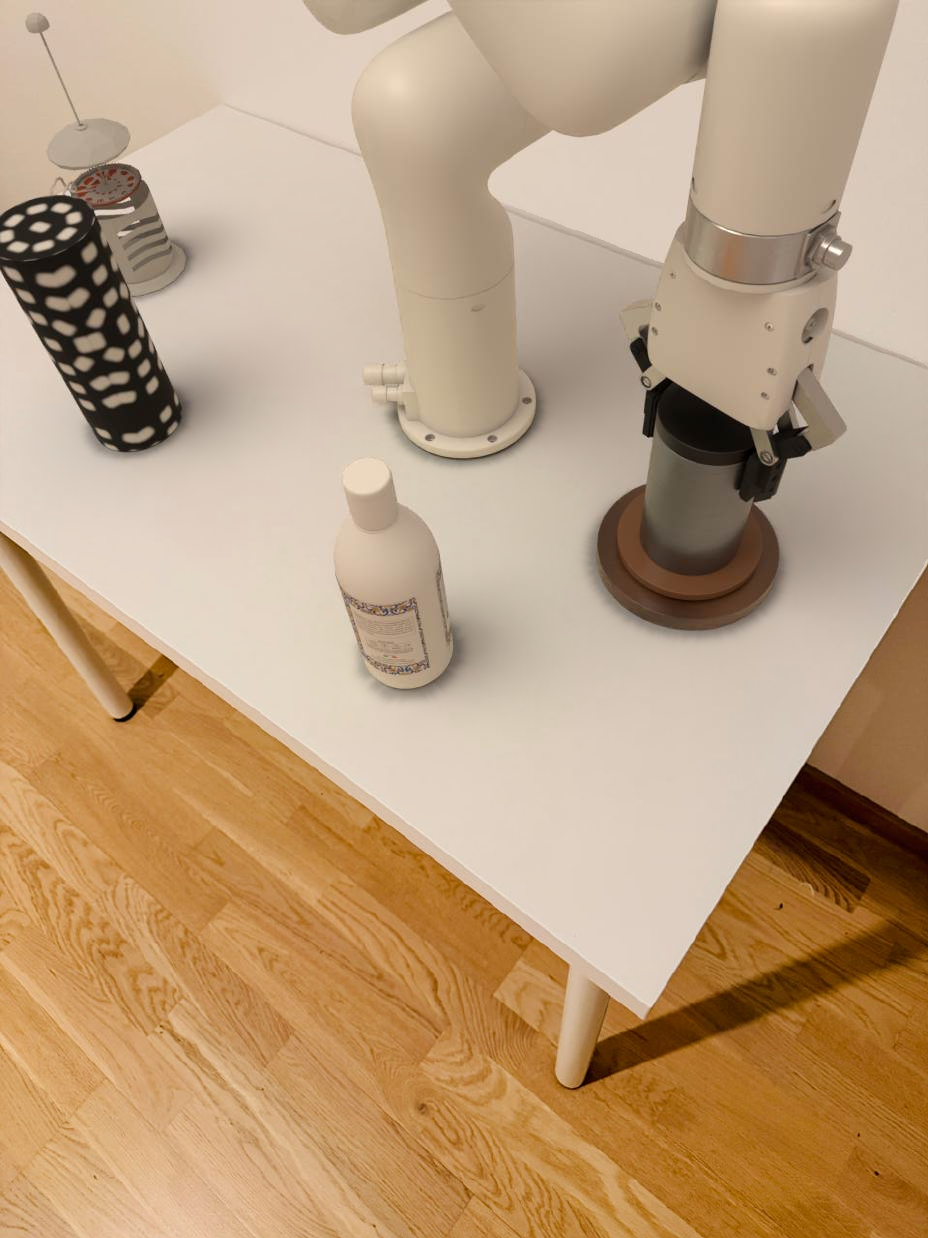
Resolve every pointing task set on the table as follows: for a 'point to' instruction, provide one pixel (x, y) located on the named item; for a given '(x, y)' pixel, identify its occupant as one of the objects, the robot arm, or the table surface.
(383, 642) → the bath foam
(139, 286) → the french press
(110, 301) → the spotted tube
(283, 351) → the table surface
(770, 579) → the turntable base
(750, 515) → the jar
